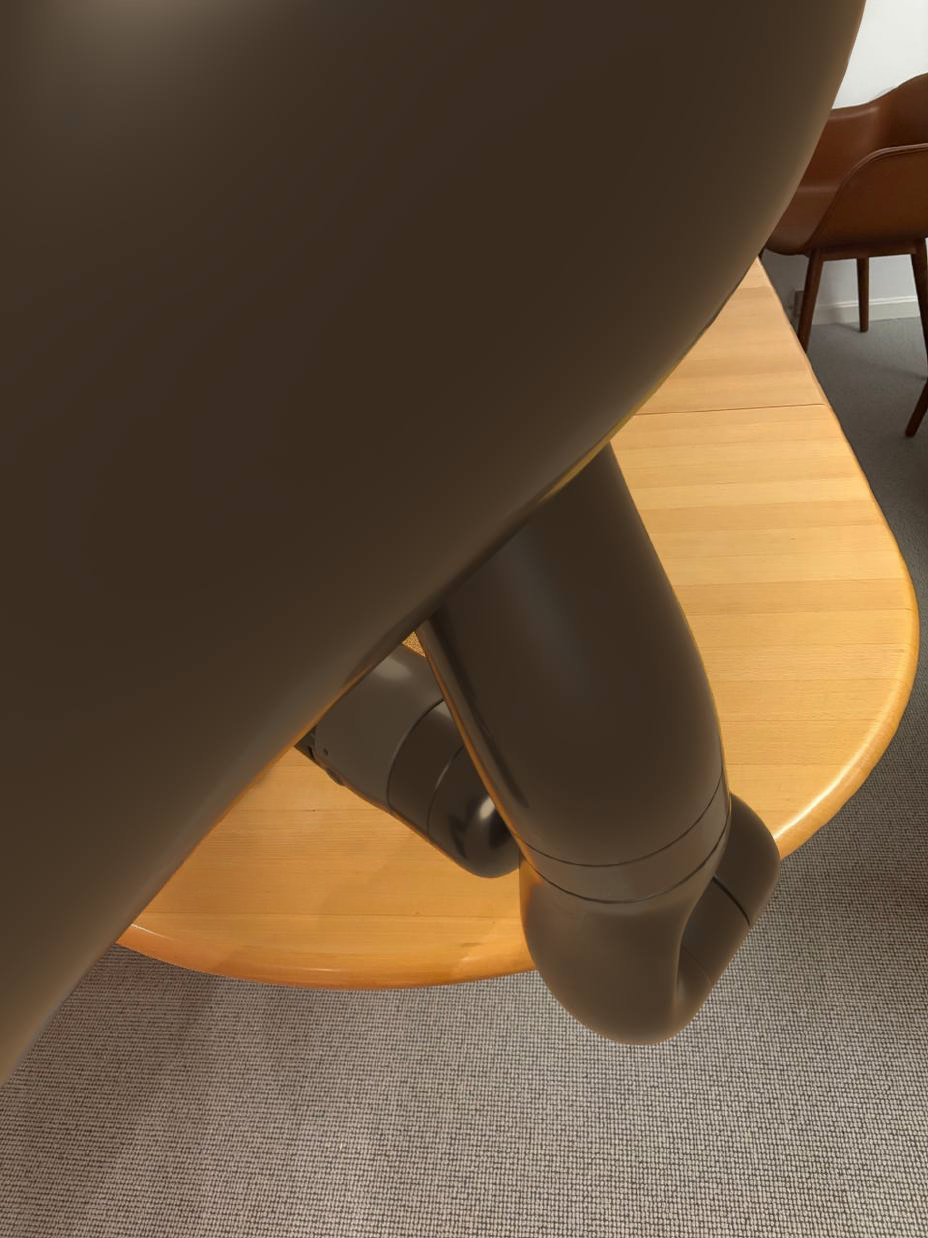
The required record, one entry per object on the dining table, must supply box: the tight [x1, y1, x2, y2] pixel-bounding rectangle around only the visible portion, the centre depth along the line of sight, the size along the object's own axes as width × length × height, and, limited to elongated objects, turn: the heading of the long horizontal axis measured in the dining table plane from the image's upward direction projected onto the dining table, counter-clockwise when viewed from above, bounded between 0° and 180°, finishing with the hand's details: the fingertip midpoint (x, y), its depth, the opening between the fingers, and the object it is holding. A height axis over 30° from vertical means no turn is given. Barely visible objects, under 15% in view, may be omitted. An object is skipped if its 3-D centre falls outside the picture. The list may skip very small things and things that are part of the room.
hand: (200, 596), depth 54 cm, fingers open, 8 cm apart
